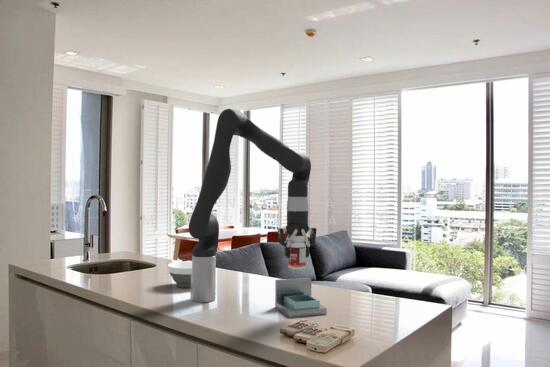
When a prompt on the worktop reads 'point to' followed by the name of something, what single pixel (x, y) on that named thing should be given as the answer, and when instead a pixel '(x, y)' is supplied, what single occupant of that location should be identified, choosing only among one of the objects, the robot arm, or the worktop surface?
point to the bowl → (181, 273)
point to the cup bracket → (296, 298)
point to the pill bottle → (297, 253)
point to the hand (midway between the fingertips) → (297, 257)
